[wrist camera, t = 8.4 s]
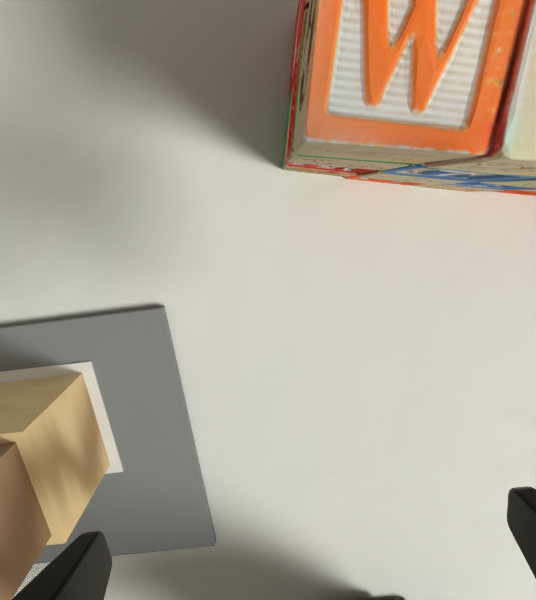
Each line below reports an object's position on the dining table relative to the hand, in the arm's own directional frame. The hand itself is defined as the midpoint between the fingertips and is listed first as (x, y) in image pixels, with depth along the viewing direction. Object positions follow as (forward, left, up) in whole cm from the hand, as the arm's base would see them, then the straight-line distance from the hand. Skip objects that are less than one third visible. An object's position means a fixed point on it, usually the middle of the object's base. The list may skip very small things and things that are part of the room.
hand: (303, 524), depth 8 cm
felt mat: (-6, +12, -12) cm, 18 cm away
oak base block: (-4, +14, -12) cm, 19 cm away
